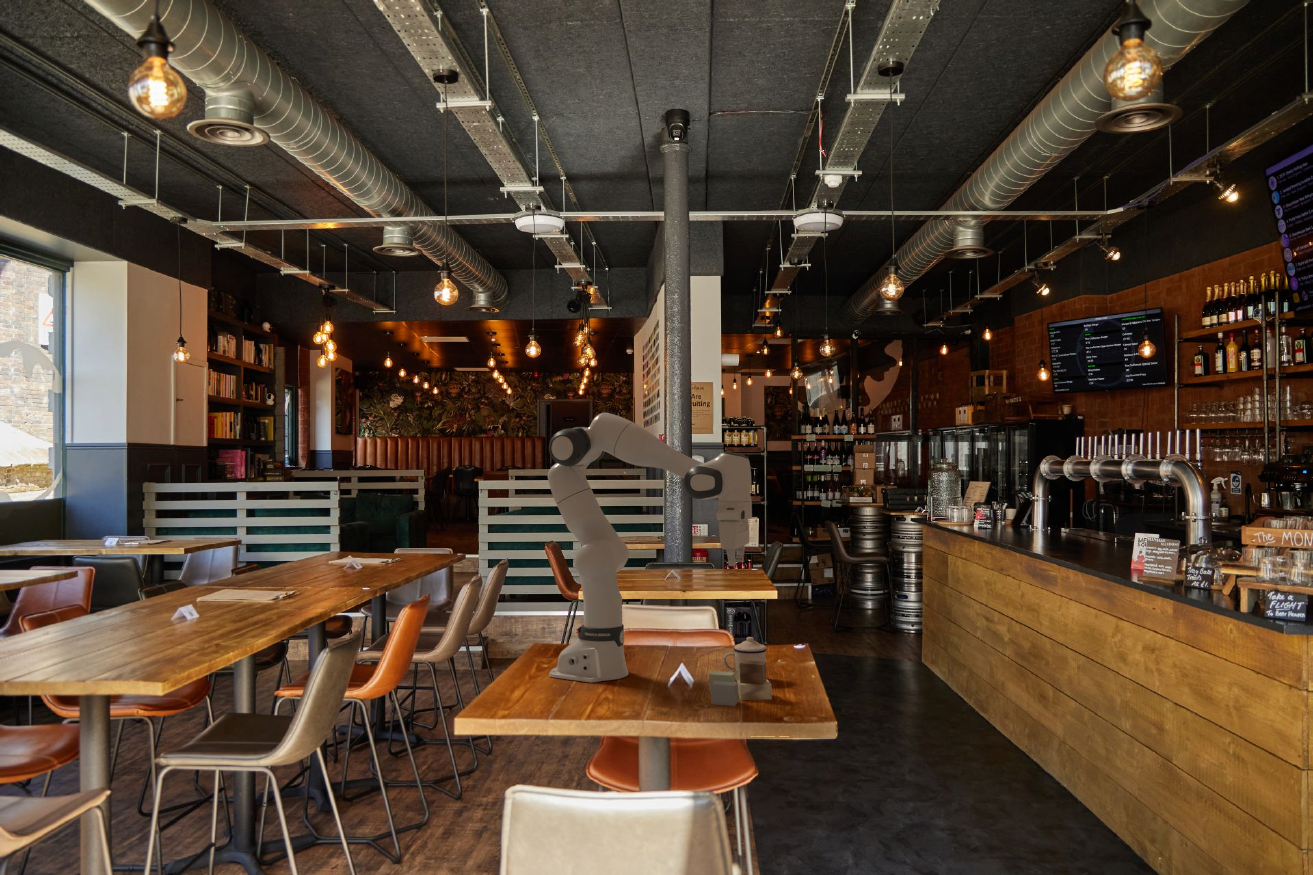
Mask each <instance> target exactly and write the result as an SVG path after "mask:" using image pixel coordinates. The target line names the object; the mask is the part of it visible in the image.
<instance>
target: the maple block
mask: <svg viewBox="0 0 1313 875" xmlns="http://www.w3.org/2000/svg"><path fill="white" fill-rule="evenodd" d="M736 682H737V683H738V699H739V700H740V701H753V700H754V701H755V700H760V701H761V700H772V698H773V692H772V690H773V689H772V685H773V684H772V683H771V682H770V680H768V679H767V678H766V682H765V683H764V684H763V685H760V684H748V683H740V680H736Z"/></svg>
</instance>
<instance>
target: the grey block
mask: <svg viewBox="0 0 1313 875" xmlns="http://www.w3.org/2000/svg"><path fill="white" fill-rule="evenodd" d="M710 695H711V696H710V698H711V700H710V704H711V705H717V706H730V707H736V706H737V704H738V703H739V697H738V683H737V681H735V682H723V681H714V682H713V683H712V684H711V693H710Z"/></svg>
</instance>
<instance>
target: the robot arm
mask: <svg viewBox="0 0 1313 875" xmlns="http://www.w3.org/2000/svg"><path fill="white" fill-rule="evenodd" d="M548 452H549V455H550V457H551V459H552V460H553V461H554V462H555V463H554V464H553V465H552V466H551V467H550V469H549V470H548V473H547V480H548V485H549V487H550V491H551V494H552V497H553V500H554V501H555V504H556V506H557V508H558V510H559V513H560V515H561V517H562V519H563V521H564V524H565V525H566V528H567V530H568V531H569V532H570V533H571V534H573V535H574V537H575V538H576V540H577V541H578V542H579V544H581V547H579V548H578V550H577V552H576V553H575V556H574V566H575V569H576V571H577V573H578V575H579V576H578V577H579V581H580V586H581V592H582V597H583V599H582V600H583V624H581V626H579V627H578V628H576V629H575V634H577V638H576V639H575V640H573V642H571V643H570V644H569V645H568V646H567V647H565V648H564V649H562V651H561V652H560V654H559V656H558V659H557V664H556V665H557V666H556V667H554V668H552V669H550V671H549V677H550V678H556V679H563V680H564V679H565V680H571V681H577V682H579V681H580V682H586V683H598V682H602V681H611V680H612V681H614V680H619V679H622V678H626V677H627V676H628V675H629V671H628V667H627V663H626V659H625V658H626V657H625V652H624V651H625V650H624V644H625V625H624V624H623V596H622V594H621V592H620V589H619V583H618V577H617V576H618V575H617V573H618V572H620V571H621V570H622V569H624V567H625V565H626V564H627V562H628V560H629V553H630V552H629V548H628V546H627V545H626V543H625V542H624V541H623V540H622V539H621V538H620V536H619V534H618V533H617V531H616V530H615V529H614V527H613V525H612V524H611V522H610V521H609V520H608V518H607V517H606V515H605V513H604V512H603V510H602V508H601V506H600V504H599V502H598V500H597V497H596V496H595V494H594V491H593V490H592V487H591V485H590V483H589V481H588V479H587V476H586V475H587V474H586V470H590V469H591V468H593V467H594V466H595V465H596V464H597V462H599V460H600V459H602V457H603V456H604V455H605V453H607V454H609V455H611V456H613V457H615V458H617V459H618V460H620V461H622V462H625V463H627V464H631V465H634V466H637V467H648V468H649V467H650V468H655V469H657V468H658V469H662V470H664V471H668V472H671V473H672V474H673V475H676V476H678V477H680V478H681V479H683V486H684V490H685V492H686V494H688V496H689V497H691V498H692V499H695V500H700V501H706V500H708V501H709V500H711V501H712V500H713V501H718V511H717V512H716V520H717V521H718V522H719V523H718V534H719V542H720V544H719V545H720V547H721V549H722V550H726V556H727V563H728V566H729V567H735V566H736V565H737V563H743V562H744V558H745V557H744V555H745V549H746V548H745V547H746V545H748V544H749V543H750V538H751V537H750V524H749V523H750V522H749V520H750V519H753V507H752V506H753V504H752V503H753V502H752V496H751V488H752V471H751V470H752V469H751V463H750V460H749V457H747V456H746V455H744V454H743V453H738V452H737V453H736V452H730V451H723V452H721V453H719V454H718V455H717V456H716V457H714V458H712V459H711V460H709V461H705V462H700V461H699V460H696V459H695V458H693V457H690V456H689V455H686V454H685V453H683V452H681V451H678V450H677V449H675V448H673V447H671V446H669V445H668V444H667V443H665V442H664V441H662V440H661V439H660V438H658V437H657V436H655V434H653V433H651V431H649V430H647V429H645V428H644V427H642V426H641V425H638V424H637V423H635V422H633V421H631V420H629V419H627V418H624V417H622V416H619V415H616V414H614V413H610V412H601V413H599V414H597V415H596V416H595V417H594V418H593V419H592V421H591V424H590V425H589V427H585V426H576V427H572V428H563V429H561V430H559V431H557V432H556V433H555V434H554V435H553V436H552V437H551V438H550V440H549V444H548Z"/></svg>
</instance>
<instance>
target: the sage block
mask: <svg viewBox="0 0 1313 875" xmlns="http://www.w3.org/2000/svg"><path fill="white" fill-rule="evenodd" d="M708 676H709V694H711V684H712V683H713V682H714V681H723V682H736V681H735V680H736V679H735V672H734V671H731V672H729V671H711V672H710V673H709V675H708Z"/></svg>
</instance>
